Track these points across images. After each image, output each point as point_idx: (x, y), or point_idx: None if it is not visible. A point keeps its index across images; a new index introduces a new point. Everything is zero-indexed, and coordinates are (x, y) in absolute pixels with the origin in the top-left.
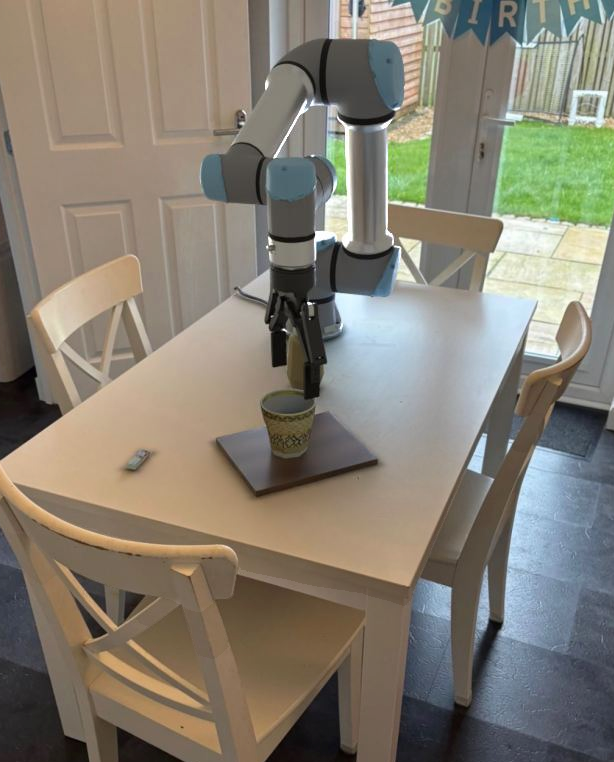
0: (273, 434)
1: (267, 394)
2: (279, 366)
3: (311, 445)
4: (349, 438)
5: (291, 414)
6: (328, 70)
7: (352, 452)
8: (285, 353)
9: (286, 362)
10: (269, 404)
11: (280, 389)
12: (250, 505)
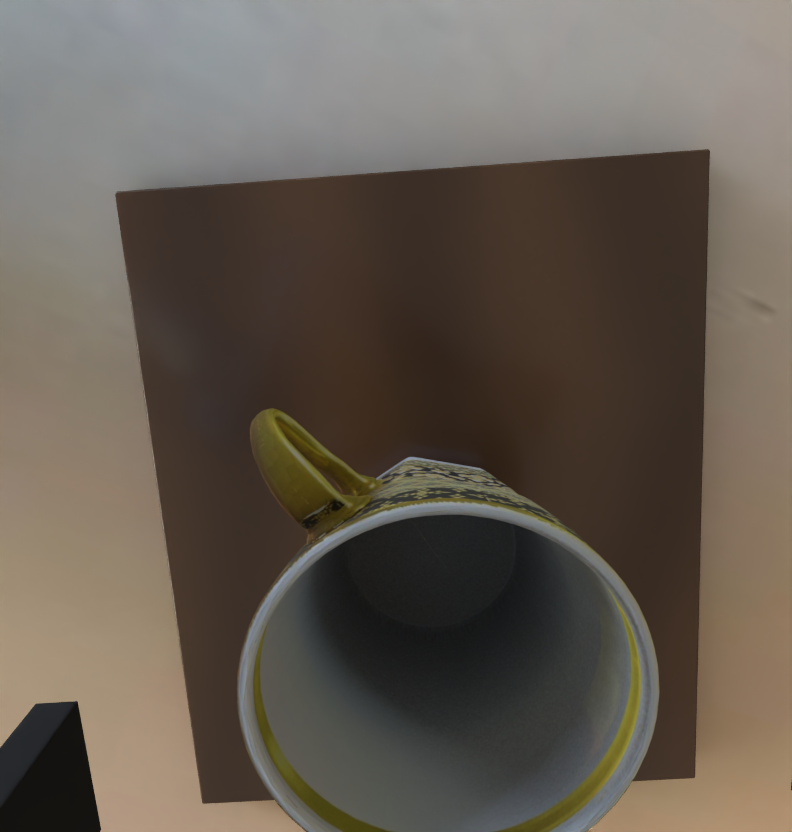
0: (493, 707)
1: (284, 792)
2: (90, 774)
3: (441, 428)
4: (453, 208)
5: (645, 746)
6: None
7: (594, 255)
8: (12, 813)
9: (66, 725)
10: (296, 726)
11: (244, 690)
12: (726, 792)
